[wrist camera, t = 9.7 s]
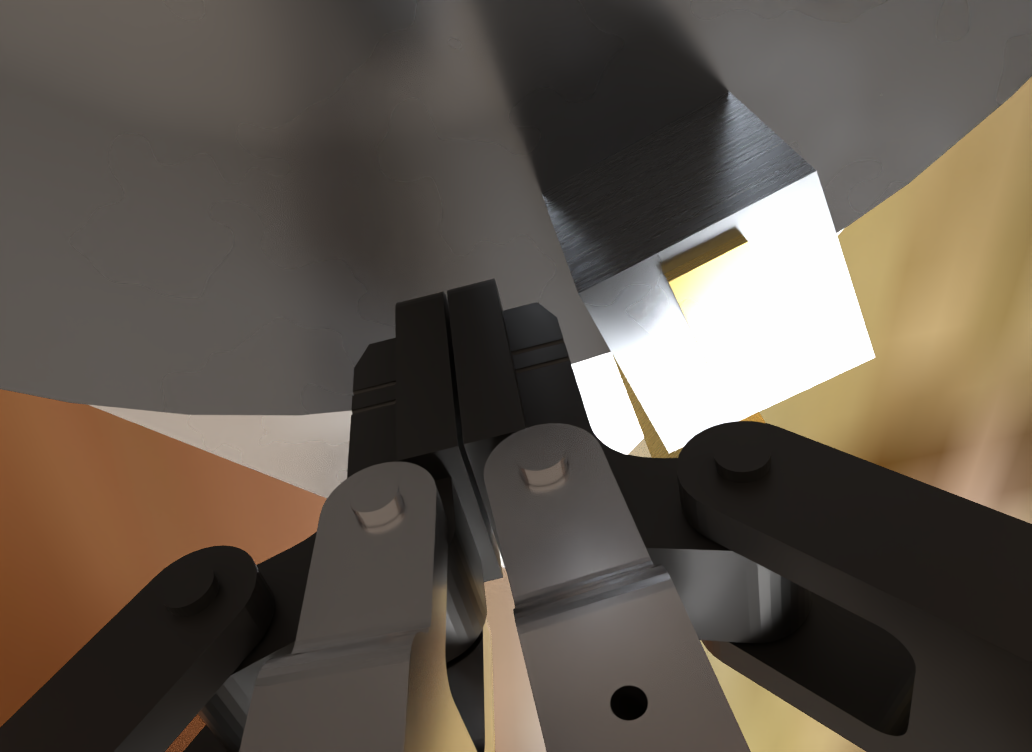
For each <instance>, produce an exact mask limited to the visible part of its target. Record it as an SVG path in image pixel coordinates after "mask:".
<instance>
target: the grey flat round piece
mask: <svg viewBox="0 0 1032 752" xmlns="http://www.w3.org/2000/svg"><path fill="white" fill-rule="evenodd" d="M1031 76H1032V0H0V389H3V390H8V391H14V392H19V393H24V394H29V395H34V396H39V397H44V398H49V399H54V400H59V401H64V402H70V403H78V404H88V405H97V406H107V407H117V408H127V409H136V410H146V411H156V412H166V413H175V414H185V415H310V414H320V413H331V412H341V411H351V408H352V396H353V395H354V394H353V378H354V367H355V366H356V364H357V363H358V361H359V359H360V358H361V356H362V355H363V353H364V352H365V350H366V348H367V347H368V345H369V344H372V343H376V342H380V341H384V340H388V339H392V338H395V305H396V303H399V302H403V301H407V300H411V299H415V298H419V297H423V296H427V295H431V294H435V293H439V292H443V291H444V293H445V295H446V297H447V300H448V296H447V290H450V289H454V288H458V287H462V286H466V285H470V284H474V283H478V282H482V281H486V280H490V279H495V281H496V285H497V288H498V292H499V296H500V300H501V304H502V307H503V310H507V309H511V308H515V307H519V306H523V305H527V304H531V303H535V302H538V303H539V304H540V305H542V306H543V307H544V308H546V309H547V310H548V311H549V312H551V313H552V314H553V315H555V316H556V317H557V319H558V323H559V326H560V329H561V332H562V335H563V339H564V343H565V345H566V348H567V351H568V355H569V358H570V361H571V364H575V363H578V362H582V361H585V360H588V359H591V358H594V357H598V356H601V355H604V354H607V353H610V352H612V354H613V356H614V357H615V359H616V361H617V363H618V364H619V366H620V368H621V370H622V371H623V373H624V375H625V377H626V378H627V380H628V382H629V384H630V385H631V387H632V389H633V391H634V393H635V394H636V396H637V398H638V400H639V401H640V403H641V405H642V407H643V408H644V410H645V412H646V414H647V415H648V417H649V419H650V421H651V422H652V424H653V426H654V428H655V429H656V431H657V433H658V435H659V436H660V438H661V440H662V442H663V444H664V445H665V447H666V449H667V451H668V452H669V453H671V452H673V451H675V450H678V449H680V448H682V447H684V446H685V444H686V443H687V442H688V441H689V440H690V439H691V438H693V437H694V436H695V435H696V434H698V433H700V432H701V431H703V430H705V429H707V428H710V427H712V426H715V425H719V424H722V423H727V422H733V421H740V420H742V419H744V418H746V417H748V416H751V415H753V414H755V413H757V412H759V411H761V410H763V409H766V408H768V407H770V406H772V405H774V404H776V403H778V402H781V401H783V400H785V399H787V398H789V397H791V396H793V395H796V394H798V393H800V392H802V391H804V390H806V389H808V388H811V387H813V386H815V385H817V384H819V383H821V382H823V381H826V380H828V379H830V378H832V377H834V376H836V375H838V374H841V373H843V372H845V371H847V370H849V369H851V368H854V367H856V366H858V365H860V364H862V363H864V362H866V361H869V360H871V359H873V358H875V355H874V352H873V349H872V345H871V342H870V339H869V336H868V333H867V329H866V326H865V323H864V320H863V317H862V314H861V310H860V307H859V304H858V301H857V298H856V294H855V291H854V288H853V285H852V282H851V279H850V275H849V272H848V269H847V266H846V263H845V259H844V256H843V253H842V250H841V247H840V244H839V240H838V237H837V233H838V232H840V231H841V230H843V229H844V228H846V227H847V226H848V225H850V224H851V223H853V222H854V221H856V220H857V219H858V218H860V217H861V216H863V215H864V214H866V213H867V212H868V211H870V210H871V209H873V208H874V207H876V206H877V205H878V204H880V203H881V202H883V201H884V200H886V199H887V198H888V197H890V196H891V195H893V194H894V193H896V192H897V191H898V190H900V189H901V188H903V187H904V186H906V185H907V184H909V183H910V182H911V181H912V180H913V179H914V178H916V177H917V176H918V175H919V174H920V173H922V172H923V171H924V170H925V169H926V168H927V167H929V166H930V165H931V164H932V163H933V162H935V161H936V160H937V159H938V158H939V157H940V156H942V155H943V154H944V153H945V152H946V151H947V150H949V149H950V148H951V147H952V146H953V145H955V144H956V143H957V142H958V141H959V140H960V139H962V138H963V137H964V136H965V135H966V134H968V133H969V132H970V131H971V130H972V129H973V128H975V127H976V126H977V125H978V124H979V123H980V122H982V121H983V120H984V119H985V118H986V117H988V116H989V115H990V114H991V113H992V112H993V111H995V110H996V109H997V108H998V107H999V106H1001V105H1002V104H1003V103H1004V102H1005V101H1006V100H1008V99H1009V98H1010V97H1011V96H1012V95H1013V94H1014V93H1015V92H1016V91H1017V90H1018V89H1019V88H1020V87H1021V86H1022V85H1023V84H1024V83H1025V82H1026V81H1027V80H1028V79H1029V78H1030V77H1031Z"/></svg>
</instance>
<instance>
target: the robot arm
mask: <svg viewBox="0 0 1032 752" xmlns="http://www.w3.org/2000/svg"><path fill="white" fill-rule="evenodd" d="M447 296H448V300H447V297H446V295H445V293H444V291H443V292H439V293H435V294H431V295H427V296H423V297H419V298H415V299H411V300H407V301H403V302H399V303H396V305H395V338H392V339H388V340H384V341H380V342H376V343H372V344H369V345H368V347H367V348H366V350H365V352H364V353H363V355H362V356H361V358H360V359H359V361H358V363H357V364H356V366H355V367H354V378H353V394H354V395H353V396H352V408H351V411H352V415H351V424H350V439H349V454H348V469H347V479H346V480H344V481H343V482H342V483H341V484H339V485H338V486H337V487H336V488H335V489H334V490H333V492H332V493H331V494H330V495H329V497H328V498H327V500H326V501H325V503H324V505H323V507H322V510H321V514H320V518H319V523H318V528H317V532H316V533H314V534H313V535H312V536H310V537H309V538H307V539H306V540H304V541H303V542H301V543H299V544H297V545H295V546H294V547H292V548H290V549H288V550H286V551H284V552H282V553H280V554H278V555H276V556H274V557H272V558H270V559H268V560H266V561H264V562H262V563H260V564H258V565H256V564H255V562H254V561H253V559H252V557H251V556H250V555H249V554H248V553H247V552H245V551H243V550H241V549H239V548H236V547H233V546H213V547H208V548H204V549H201V550H198V551H195V552H192V553H190V554H188V555H186V556H183V557H182V558H180V559H178V560H177V561H175V562H173V563H172V564H170V565H169V566H168V567H166V568H165V569H164V570H162V571H161V572H160V573H159V574H158V575H157V576H156V577H155V578H154V579H152V580H151V581H150V582H149V583H148V584H147V585H146V586H145V587H144V588H143V589H142V590H141V591H140V592H139V593H138V594H137V595H136V596H135V597H134V598H133V599H132V600H131V601H130V602H129V603H128V604H127V605H126V606H125V607H124V608H123V609H122V610H121V611H120V612H119V613H118V614H117V615H115V616H114V617H113V618H112V619H111V620H110V621H109V622H108V623H107V624H106V625H105V626H104V627H103V628H102V629H101V630H100V631H99V632H98V633H97V634H96V635H95V636H94V637H93V638H92V639H91V640H90V641H89V642H88V643H87V644H86V645H85V646H84V647H83V648H82V649H81V650H80V651H79V652H77V653H76V654H75V655H74V656H73V657H72V658H71V659H70V660H69V661H68V662H67V663H66V664H65V665H64V666H63V667H62V668H61V669H60V670H59V671H58V672H57V673H56V674H55V675H54V676H53V677H52V678H51V679H50V680H49V681H48V682H47V683H46V684H45V685H44V686H43V687H42V688H40V689H39V690H38V691H37V692H36V693H35V694H34V695H33V696H32V697H31V698H30V699H29V700H28V701H27V702H26V703H25V704H24V705H23V706H22V707H21V708H20V709H19V710H18V711H17V712H16V713H15V714H14V715H13V716H12V717H11V718H10V719H9V720H8V721H7V722H6V723H5V724H3V725H2V726H1V727H0V752H165V751H166V750H167V748H168V747H169V746H170V745H171V744H172V743H173V741H174V740H175V739H176V738H177V737H178V736H179V735H180V733H181V732H182V731H183V730H184V729H185V728H186V726H187V725H188V724H189V723H190V722H191V721H192V720H193V718H194V717H195V716H196V715H197V714H198V715H199V716H200V718H201V719H202V720H203V721H204V723H205V724H206V726H205V727H204V728H203V729H202V730H201V731H200V733H199V734H198V735H197V736H196V737H195V738H194V740H193V741H192V742H191V743H190V744H189V746H188V747H187V748H186V749H185V750H184V751H183V752H495V734H494V700H493V666H492V636H491V629H490V627H489V624H488V621H487V619H486V615H487V606H486V598H485V589H484V582H487V581H491V580H495V579H499V578H503V574H502V566H501V559H500V554H501V557H502V560H503V563H504V566H505V569H506V572H507V575H508V579H509V583H510V587H511V591H512V595H513V599H514V603H515V609H513V611H514V617H515V622H516V627H517V631H518V635H519V639H520V643H521V648H522V652H523V656H524V660H525V664H526V668H527V672H528V677H529V681H530V685H531V689H532V693H533V697H534V701H535V705H536V710H537V714H538V718H539V722H540V726H541V730H542V734H543V738H544V743H545V747H546V751H547V752H751V751H750V749H749V747H748V745H747V743H746V741H745V738H744V736H743V734H742V732H741V730H740V727H739V725H738V723H737V721H736V719H735V717H734V714H733V712H732V710H731V708H730V706H729V703H728V701H727V699H726V697H725V695H724V693H723V690H722V688H721V686H720V684H719V682H718V679H717V677H716V675H715V673H714V671H713V669H712V666H711V664H710V662H709V660H708V658H707V655H706V653H705V651H704V649H703V647H702V645H701V642H700V640H702V642H703V644H704V645H705V647H706V648H707V649H708V650H709V651H710V652H711V654H712V655H713V656H715V657H716V658H717V659H719V660H720V661H721V662H723V663H725V664H726V665H728V666H729V667H731V668H733V669H734V670H736V671H738V672H739V673H741V674H742V675H744V676H746V677H747V678H749V679H750V680H752V681H754V682H755V683H757V684H758V685H760V686H762V687H763V688H765V689H767V690H768V691H770V692H771V693H773V694H775V695H776V696H778V697H779V698H781V699H783V700H784V701H786V702H787V703H789V704H791V705H792V706H794V707H795V708H797V709H799V710H800V711H802V712H804V713H805V714H807V715H808V716H810V717H812V718H813V719H815V720H816V721H818V722H820V723H821V724H823V725H824V726H826V727H828V728H829V729H831V730H833V731H834V732H836V733H837V734H839V735H841V736H842V737H844V738H845V739H847V740H849V741H850V742H852V743H853V744H855V745H857V746H858V747H860V748H862V749H863V750H865V751H866V752H1032V524H1030V523H1027V522H1025V521H1022V520H1020V519H1017V518H1014V517H1012V516H1009V515H1007V514H1004V513H1001V512H999V511H996V510H993V509H991V508H988V507H986V506H983V505H980V504H978V503H975V502H973V501H970V500H967V499H965V498H962V497H960V496H957V495H954V494H952V493H949V492H947V491H944V490H941V489H939V488H936V487H934V486H931V485H928V484H926V483H923V482H921V481H918V480H915V479H913V478H910V477H908V476H905V475H902V474H900V473H897V472H894V471H892V470H889V469H887V468H884V467H881V466H879V465H876V464H874V463H871V462H868V461H866V460H863V459H861V458H858V457H855V456H853V455H850V454H848V453H845V452H842V451H840V450H837V449H835V448H832V447H829V446H827V445H824V444H822V443H819V442H816V441H814V440H811V439H809V438H806V437H803V436H801V435H798V434H795V433H793V432H790V431H788V430H785V429H782V428H780V427H777V426H774V425H771V424H767V423H762V422H756V421H733V422H727V423H722V424H719V425H715V426H712V427H710V428H707V429H705V430H703V431H701V432H700V433H698V434H696V435H695V436H694V437H693V438H691V439H690V440H689V441H688V442H687V443H686V444H685V446H684V447H683V448H682V450H681V452H680V454H679V456H678V458H647V457H638V456H632V455H628V454H625V453H621V452H619V451H617V450H614V449H612V448H610V447H609V446H607V445H606V444H604V443H603V442H602V441H601V440H600V439H599V438H598V437H597V436H596V434H595V433H594V432H593V430H592V427H591V425H590V422H589V419H588V416H587V412H586V409H585V406H584V403H583V400H582V396H581V393H580V390H579V387H578V384H577V380H576V377H575V374H574V371H573V367H572V364H571V361H570V358H569V355H568V351H567V348H566V345H565V343H564V339H563V335H562V332H561V329H560V326H559V323H558V319H557V317H556V316H555V315H553V314H552V313H551V312H549V311H548V310H547V309H546V308H544V307H543V306H542V305H540V304H539V303H538V302H535V303H531V304H527V305H523V306H519V307H515V308H511V309H507V310H503V307H502V304H501V300H500V296H499V292H498V288H497V285H496V281H495V279H490V280H486V281H482V282H478V283H474V284H470V285H466V286H462V287H458V288H454V289H450V290H447ZM499 551H500V552H499Z"/></svg>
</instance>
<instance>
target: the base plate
mask: <svg viewBox="0 0 1032 752" xmlns="http://www.w3.org/2000/svg"><path fill="white" fill-rule="evenodd" d="M841 231H842V230H841ZM841 231H840V232H841ZM840 232H838V233H837V235H838V234H839V233H840ZM572 367H573V371H574V374H575V377H576V380H577V384H578V387H579V390H580V393H581V396H582V400H583V403H584V406H585V409H586V412H587V416H588V419H589V422H590V425H591V427H592V430H593V432H594V433H595V434H596V436H597V437H598V438H599V439H600V440H601V441H602V442H603V443H604V444H606V445H607V446H609V447H610V448H612V449H614V450H617V451H619V452H621V453H625V454H628V453H629V452H630V451H631V450H632V449H633V448H634V447H635V446H636V445H637V444H638V443H639V442H640V441H641V440H642V439H643V438H645V441H646V444H647V446H648V449H649V451H650V454H651V457H652V458H678V456H679V454H680V452H681V450H682V448H683V447H682V448H680V449H678V450H675V451H673V452H671V453H669V452H668V451H667V449H666V447H665V445H664V444H663V442H662V440H661V438H660V436H659V435H658V433H657V431H656V429H655V428H654V426H653V424H652V422H651V421H650V419H649V417H648V415H647V414H646V412H645V410H644V408H643V407H642V405H641V403H640V401H639V400H638V398H637V396H636V394H635V393H634V391H633V389H632V387H631V385H630V384H629V382H628V380H627V378H626V377H625V375H624V373H623V371H622V370H621V368H620V366H619V364H618V363H617V361H616V359H615V357H614V356H613V354H612V352H610V353H607V354H604V355H601V356H598V357H594V358H591V359H588V360H585V361H582V362H578V363H575V364H572ZM87 405H88V404H87ZM90 406H93V407H95V408H98V409H100V410H103V411H105V412H108V413H110V414H113V415H116V416H118V417H121V418H123V419H126V420H128V421H131V422H133V423H136V424H139V425H141V426H144V427H146V428H149V429H151V430H154V431H156V432H159V433H161V434H164V435H167V436H169V437H172V438H174V439H177V440H179V441H182V442H184V443H187V444H190V445H192V446H195V447H197V448H200V449H202V450H205V451H207V452H210V453H213V454H215V455H218V456H220V457H223V458H225V459H228V460H230V461H233V462H235V463H238V464H241V465H243V466H246V467H248V468H251V469H253V470H256V471H258V472H261V473H264V474H266V475H269V476H271V477H274V478H276V479H279V480H281V481H284V482H286V483H289V484H292V485H294V486H297V487H299V488H302V489H304V490H307V491H309V492H312V493H315V494H317V495H320V496H322V497H325V498H328V497H329V495H330V494H331V493H332V492H333V490H334V489H335V488H336V487H337V486H338V485H339V484H341V483H342V482H343V481H344V480H346V479H347V469H348V454H349V439H350V424H351V415H352V411H341V412H331V413H320V414H310V415H185V414H175V413H166V412H156V411H146V410H136V409H127V408H117V407H107V406H97V405H90ZM740 421H756V422H762V423H765V421H764V420H763V418H762V416H761V415H760V413H759V412H757V413H755V414H753V415H751V416H748V417H746V418H744V419H742V420H740ZM499 552H500V551H499ZM500 559H501V566H502V567H503V568H505V566H504V563H503V560H502V557H501V554H500Z"/></svg>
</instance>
